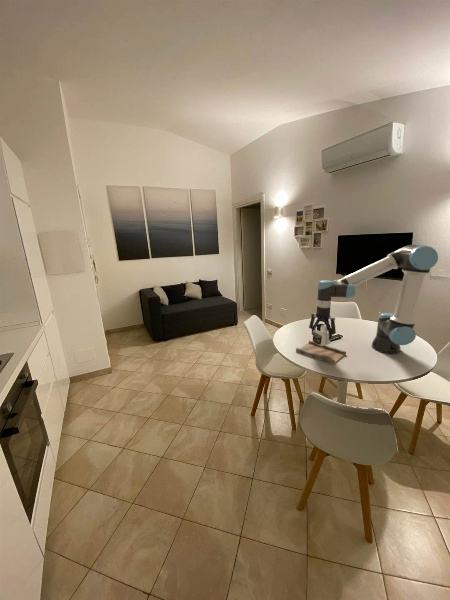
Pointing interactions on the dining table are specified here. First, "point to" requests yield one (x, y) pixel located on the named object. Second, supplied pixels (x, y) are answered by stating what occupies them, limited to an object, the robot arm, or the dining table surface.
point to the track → (322, 352)
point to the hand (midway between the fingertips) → (321, 341)
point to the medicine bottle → (320, 335)
